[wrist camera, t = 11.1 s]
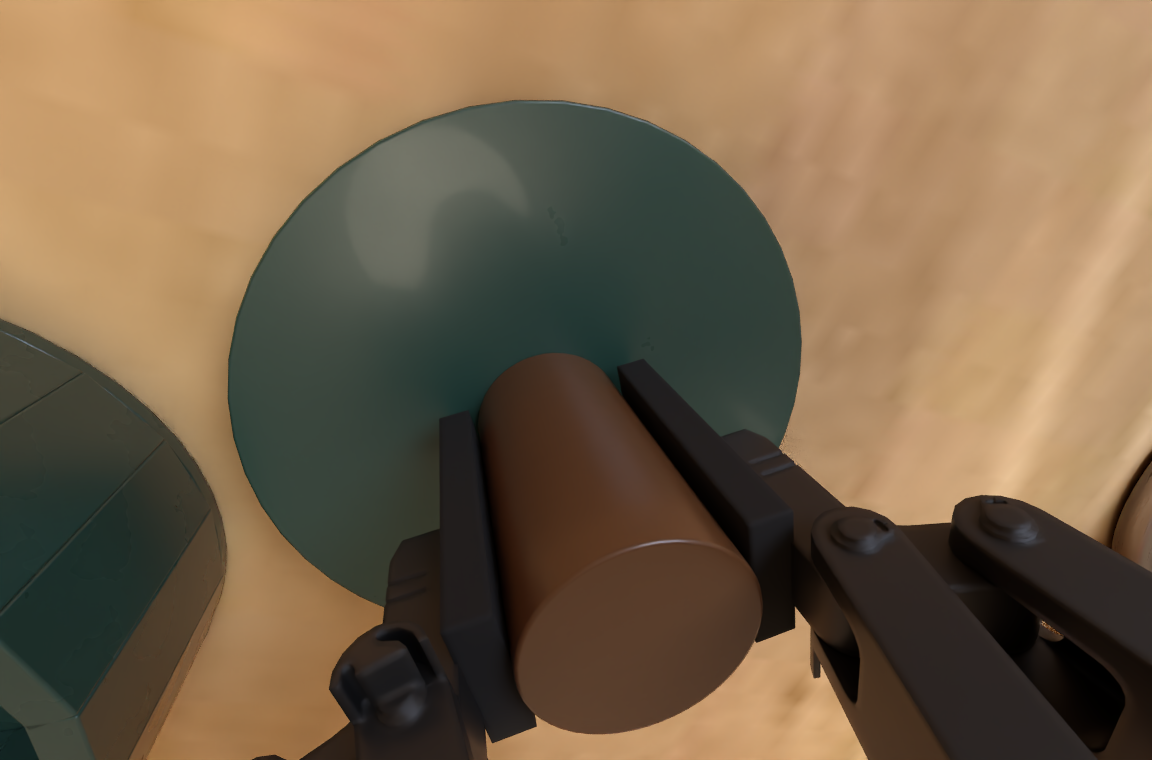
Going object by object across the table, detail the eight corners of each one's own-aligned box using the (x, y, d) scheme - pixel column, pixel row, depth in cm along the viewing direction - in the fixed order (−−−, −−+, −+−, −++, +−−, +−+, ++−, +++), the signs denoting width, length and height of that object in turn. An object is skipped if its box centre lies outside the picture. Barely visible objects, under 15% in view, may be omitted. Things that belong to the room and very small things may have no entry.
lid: (771, 43, 13) (1249, -109, 5) (784, 517, 20) (1000, 746, 12) (104, 188, 11) (-665, 276, 3) (376, 659, 18) (330, 1041, 10)
